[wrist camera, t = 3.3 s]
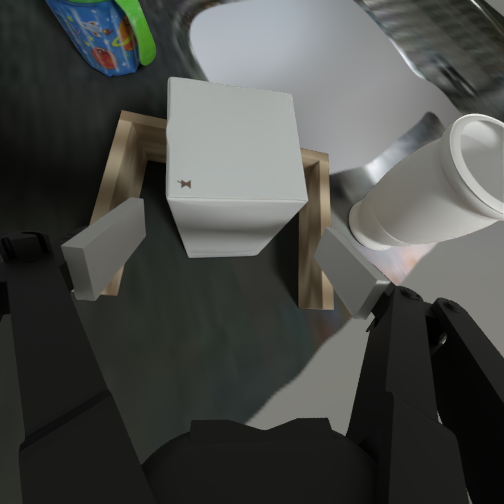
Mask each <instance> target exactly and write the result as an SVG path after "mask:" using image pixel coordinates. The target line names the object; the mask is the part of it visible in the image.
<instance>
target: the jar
mask: <svg viewBox="0 0 504 504" xmlns="http://www.w3.org/2000/svg"><path fill="white" fill-rule="evenodd" d="M498 220H502V221H504V123H502V122H500V121H499V120H497V119H494V118H492V117H489V116H486V115H481V114H469V115H465V116H463V117H461V118H459V119H458V120H457V121H455V122H453V123H452V124H451V125H450V126H449V127H448V128H447V129H446V130H445V131H444V133H443V135H442V137H441V138H439V139H437V140H435V141H433V142H431V143H429V144H427V145H425V146H423V147H422V148H420V149H418V150H416V151H415V152H413V153H412V154H410V155H409V156H407V157H406V158H404V159H403V160H402V161H400V162H399V163H398V164H396V165H395V166H394V167H393V168H392V169H391V170H390V171H388V172H387V173H386V174H385V175H384V176H383V177H382V179H381V180H380V181H379V182H378V183H377V184H376V185H375V186H374V187H373V188H372V189H371V190H370V191H369V192H368V193H367V195H366V196H365V198H364V199H363V200H360V201H358V202H357V203H355V204H354V205H353V207H352V208H351V210H350V213H349V225H350V229H351V231H352V233H353V235H354V236H355V238H356V239H357V240H358V241H359V242H360V243H361V244H362V245H364V246H365V247H367V248H369V249H372V250H386V249H388V248H390V247H392V246H397V247H401V246H412V245H417V244H427V243H435V242H440V241H445V240H449V239H453V238H456V237H460V236H463V235H466V234H469V233H472V232H474V231H477V230H479V229H481V228H484V227H486V226H488V225H491V224H493V223H495V222H497V221H498Z"/></svg>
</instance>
